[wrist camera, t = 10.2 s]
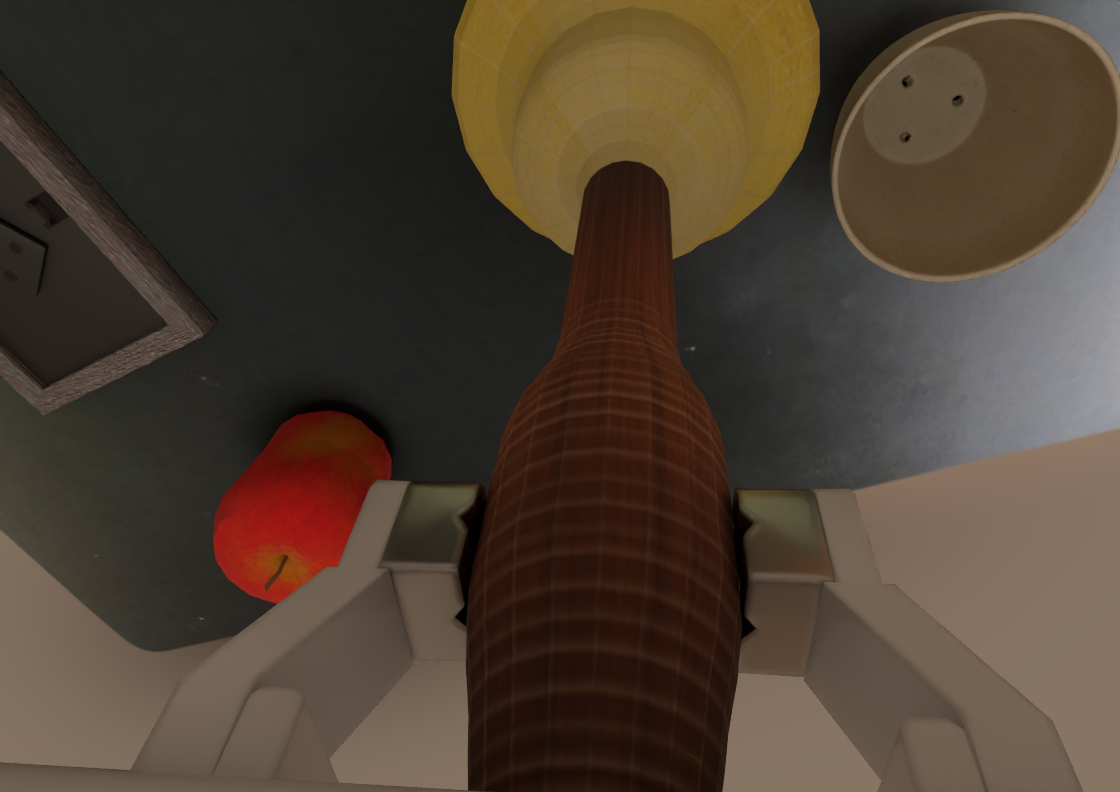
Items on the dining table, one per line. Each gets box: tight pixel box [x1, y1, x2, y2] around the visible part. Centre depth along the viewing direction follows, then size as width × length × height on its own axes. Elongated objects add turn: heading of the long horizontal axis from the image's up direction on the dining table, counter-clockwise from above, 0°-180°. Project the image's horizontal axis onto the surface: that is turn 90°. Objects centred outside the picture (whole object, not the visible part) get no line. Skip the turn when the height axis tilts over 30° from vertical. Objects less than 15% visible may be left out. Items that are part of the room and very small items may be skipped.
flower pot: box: [830, 10, 1120, 282], centre depth 33 cm, size 10×10×7 cm
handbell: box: [452, 0, 820, 792], centre depth 17 cm, size 12×12×25 cm
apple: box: [213, 410, 392, 604], centre depth 45 cm, size 9×8×12 cm
